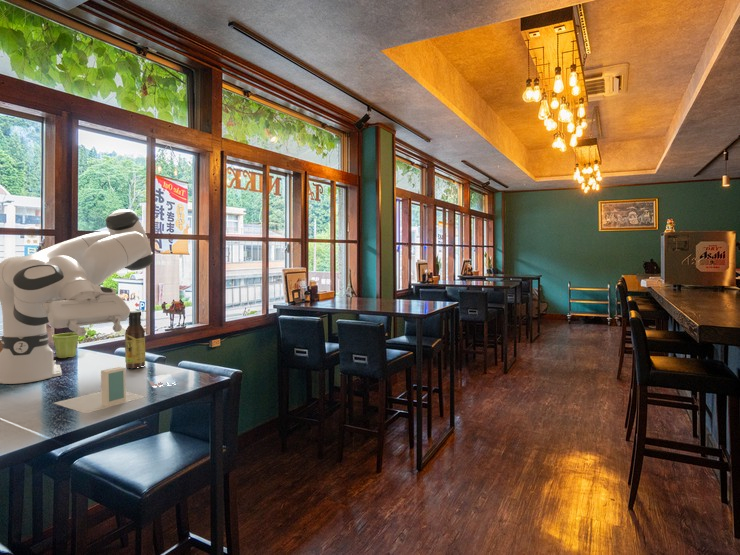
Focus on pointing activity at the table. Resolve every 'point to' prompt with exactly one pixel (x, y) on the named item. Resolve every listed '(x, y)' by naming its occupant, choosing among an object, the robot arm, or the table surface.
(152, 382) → the mobile phone
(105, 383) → the card deck
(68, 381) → the table surface
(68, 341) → the plant pot
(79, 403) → the bar mat
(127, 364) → the sauce bottle
